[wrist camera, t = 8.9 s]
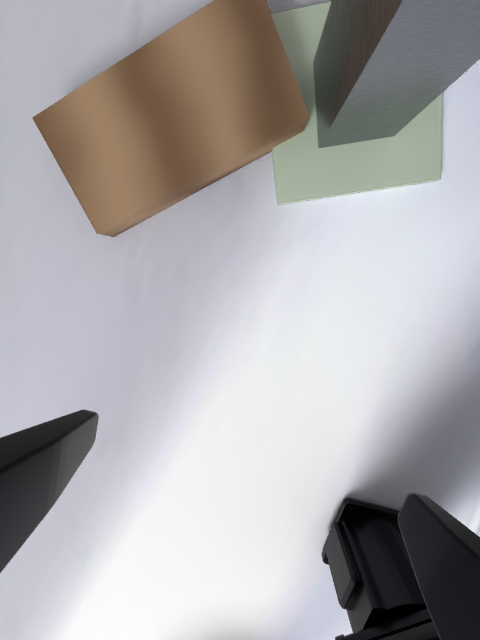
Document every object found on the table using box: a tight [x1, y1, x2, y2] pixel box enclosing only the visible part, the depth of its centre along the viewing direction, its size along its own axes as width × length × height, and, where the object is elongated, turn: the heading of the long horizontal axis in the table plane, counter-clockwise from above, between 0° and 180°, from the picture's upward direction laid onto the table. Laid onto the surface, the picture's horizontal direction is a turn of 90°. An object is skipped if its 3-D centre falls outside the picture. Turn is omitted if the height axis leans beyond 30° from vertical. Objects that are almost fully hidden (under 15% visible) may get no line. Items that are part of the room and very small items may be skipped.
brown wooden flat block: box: [33, 0, 310, 237], centre depth 15 cm, size 14×7×2 cm, turn 116°
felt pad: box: [271, 2, 442, 205], centre depth 15 cm, size 10×10×1 cm
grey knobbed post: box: [313, 0, 480, 148], centre depth 10 cm, size 4×4×11 cm
